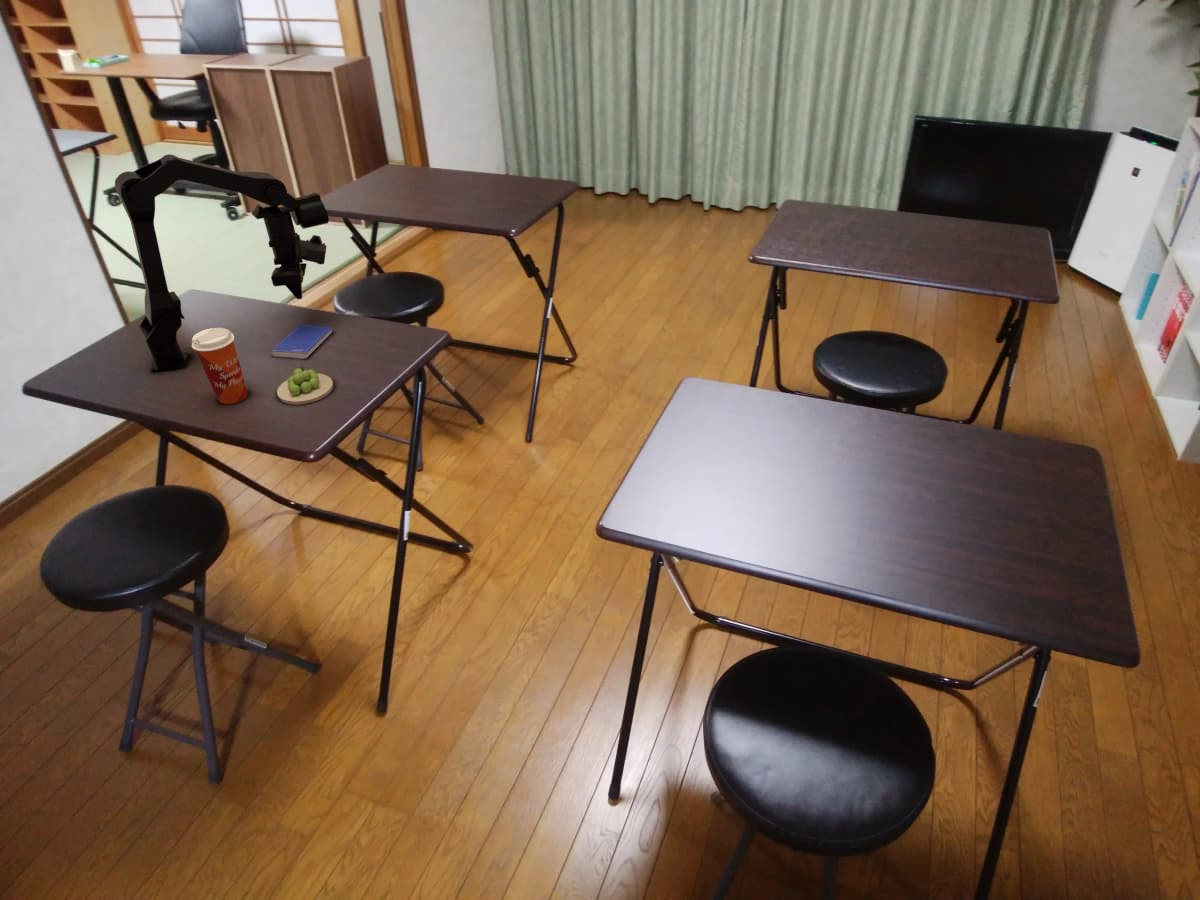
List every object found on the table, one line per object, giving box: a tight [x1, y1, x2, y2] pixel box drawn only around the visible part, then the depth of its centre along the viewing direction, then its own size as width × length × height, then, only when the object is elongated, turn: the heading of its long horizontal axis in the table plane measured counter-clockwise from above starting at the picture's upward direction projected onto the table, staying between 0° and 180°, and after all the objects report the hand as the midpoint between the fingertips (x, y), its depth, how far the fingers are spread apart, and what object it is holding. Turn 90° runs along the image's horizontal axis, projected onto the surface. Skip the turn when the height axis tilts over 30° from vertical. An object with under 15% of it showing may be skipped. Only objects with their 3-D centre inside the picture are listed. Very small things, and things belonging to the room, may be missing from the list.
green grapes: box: [287, 365, 319, 395], centre depth 155 cm, size 8×6×5 cm
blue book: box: [271, 324, 333, 360], centre depth 172 cm, size 2×8×12 cm
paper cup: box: [191, 327, 248, 405], centre depth 151 cm, size 8×8×14 cm
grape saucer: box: [276, 372, 334, 406], centre depth 156 cm, size 11×11×1 cm
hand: (299, 298), depth 177 cm, fingers closed
